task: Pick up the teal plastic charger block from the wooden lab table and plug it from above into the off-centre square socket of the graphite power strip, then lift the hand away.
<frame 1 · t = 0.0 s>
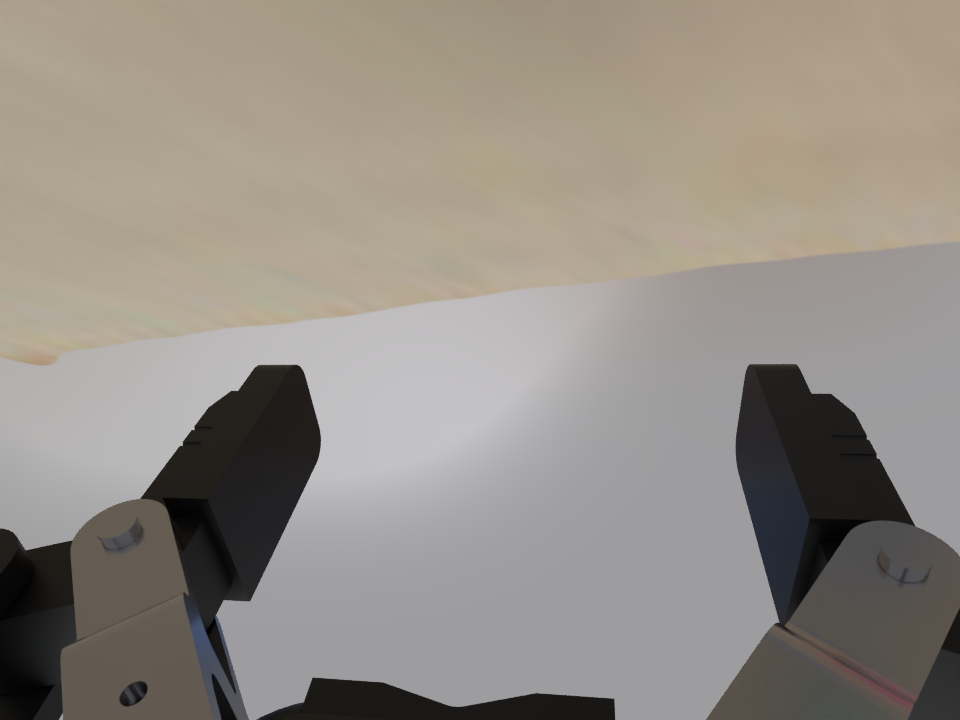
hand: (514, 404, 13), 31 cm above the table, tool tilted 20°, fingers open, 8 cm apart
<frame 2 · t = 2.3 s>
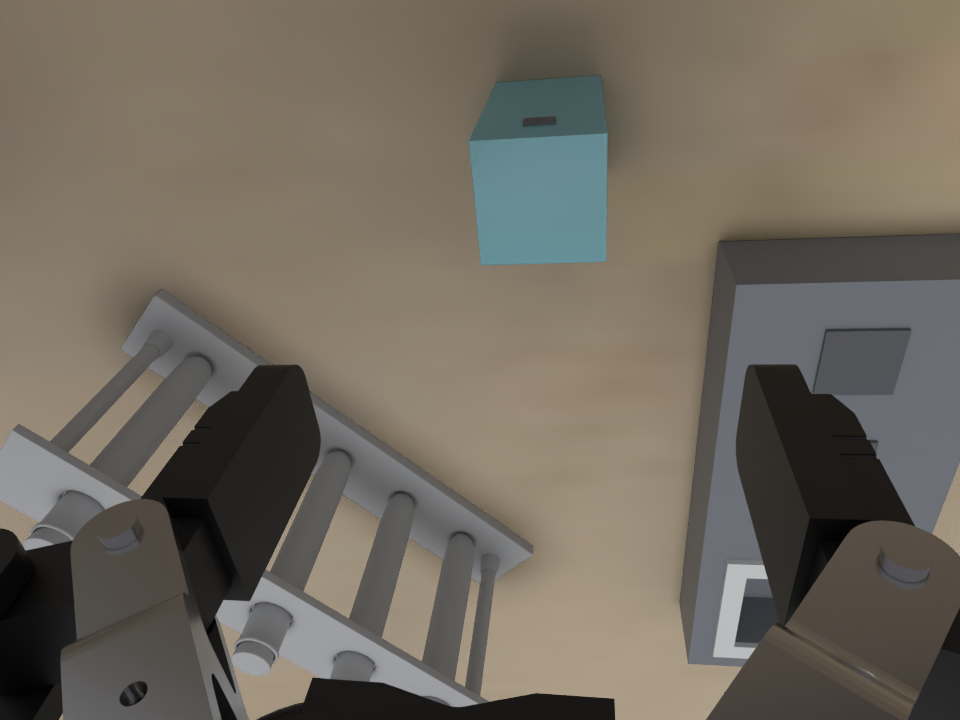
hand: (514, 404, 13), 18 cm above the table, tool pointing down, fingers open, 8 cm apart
charger: (549, 131, 27), on the table
test tube rack: (344, 447, 39), on the table
power strip: (797, 457, 35), on the table
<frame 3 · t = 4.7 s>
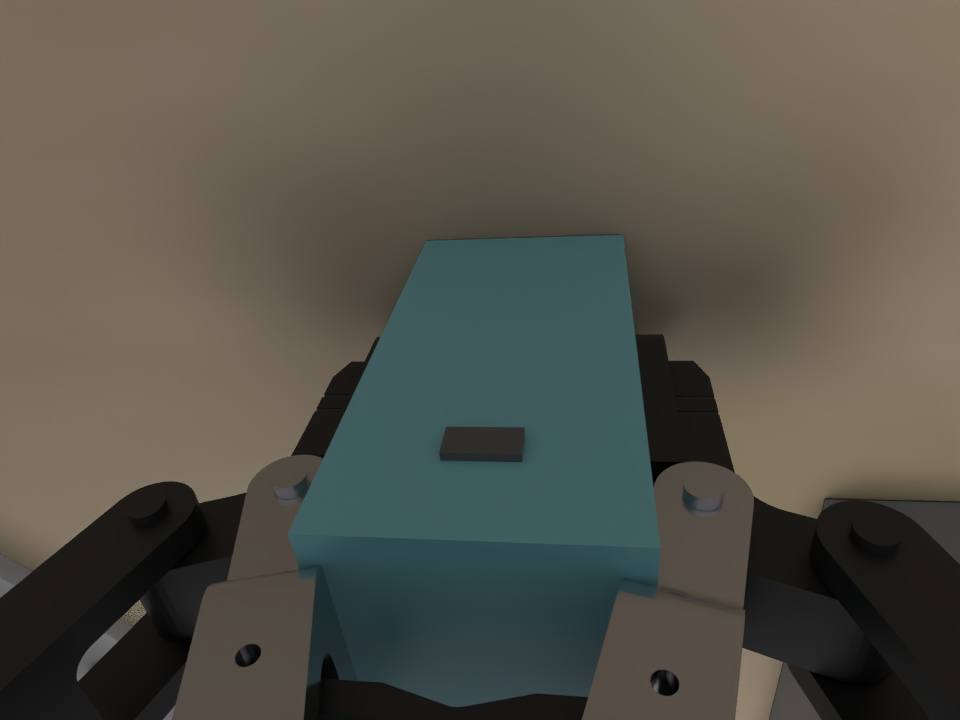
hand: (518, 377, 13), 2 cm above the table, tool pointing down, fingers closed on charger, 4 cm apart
charger: (527, 323, 15), on the table, touching gripper
test tube rack: (231, 704, 26), on the table
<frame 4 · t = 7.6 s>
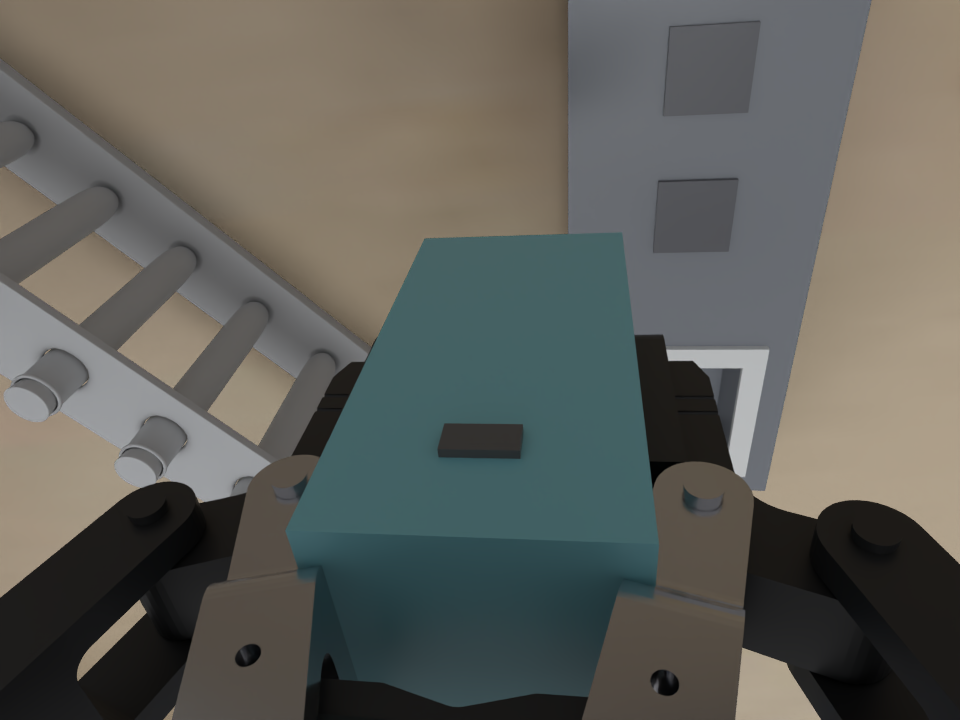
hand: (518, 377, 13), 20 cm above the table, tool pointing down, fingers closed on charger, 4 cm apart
charger: (526, 321, 15), point 18 cm above the table, touching gripper
test tube rack: (193, 248, 36), on the table
power strip: (674, 243, 32), on the table
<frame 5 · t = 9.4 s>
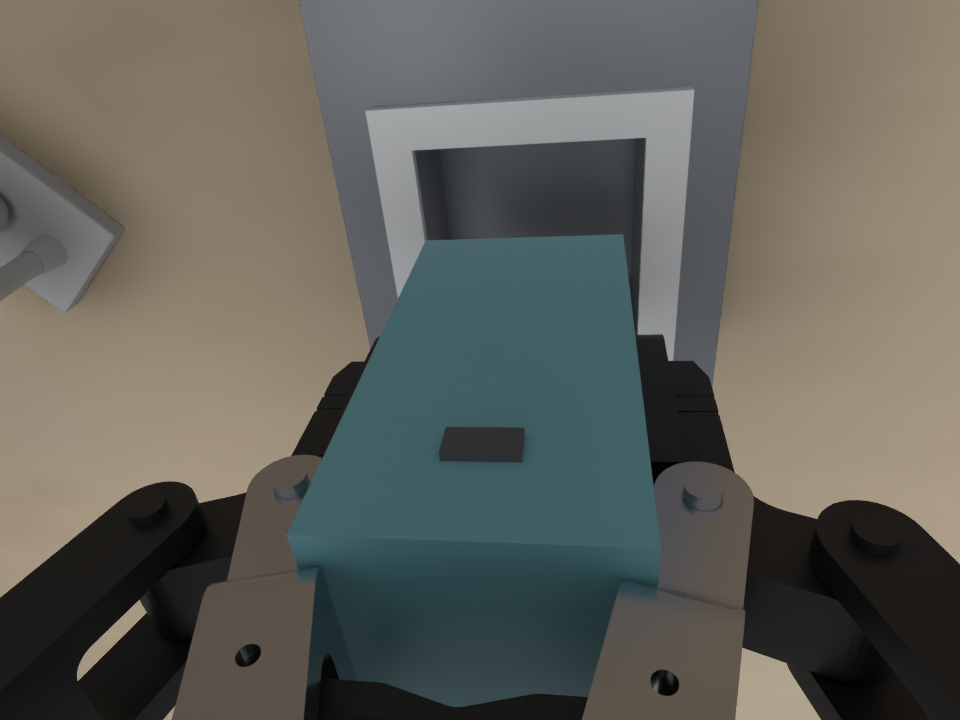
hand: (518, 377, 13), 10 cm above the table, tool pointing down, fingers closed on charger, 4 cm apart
charger: (527, 323, 15), point 8 cm above the table, touching gripper
when the fingers open (5 cm above the table, at t = 10.7 s): charger drops 2 cm, resting on power strip.
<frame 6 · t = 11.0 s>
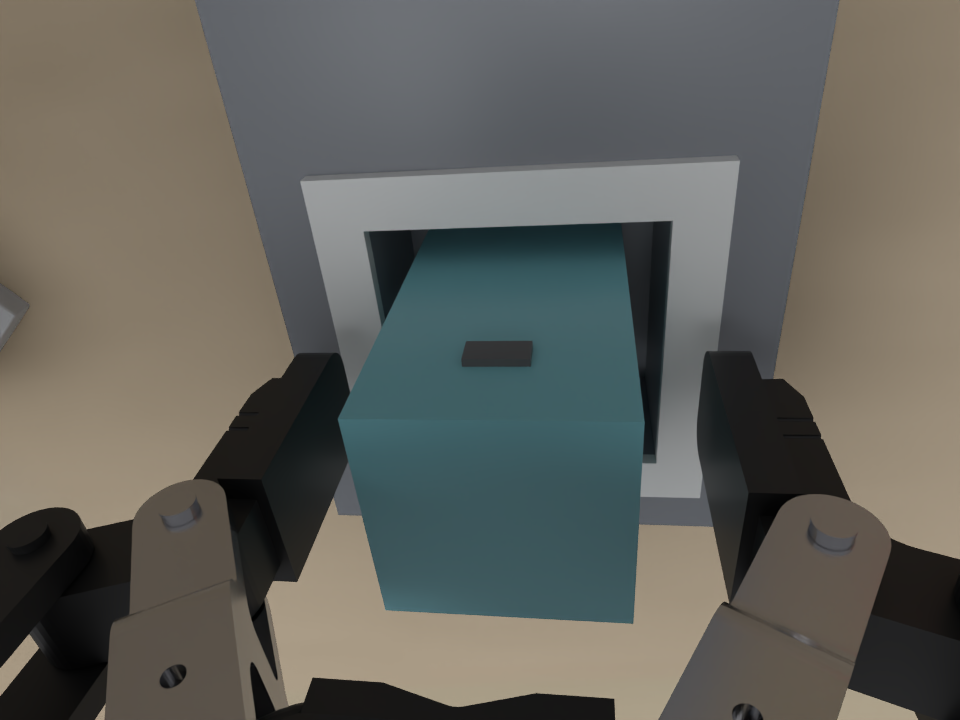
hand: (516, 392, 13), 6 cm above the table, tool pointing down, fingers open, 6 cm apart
charger: (531, 280, 17), point 1 cm above the table, touching power strip
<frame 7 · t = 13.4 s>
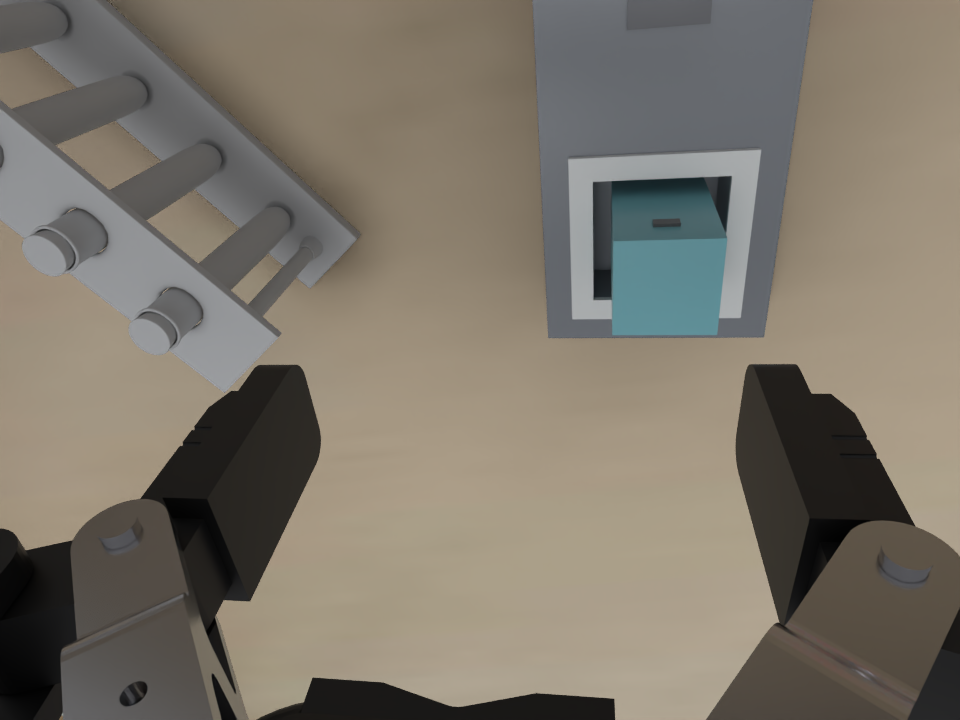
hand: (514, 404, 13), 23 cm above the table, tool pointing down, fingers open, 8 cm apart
charger: (653, 213, 32), point 1 cm above the table, touching power strip
test tube rack: (147, 86, 34), on the table
power strip: (658, 52, 30), on the table
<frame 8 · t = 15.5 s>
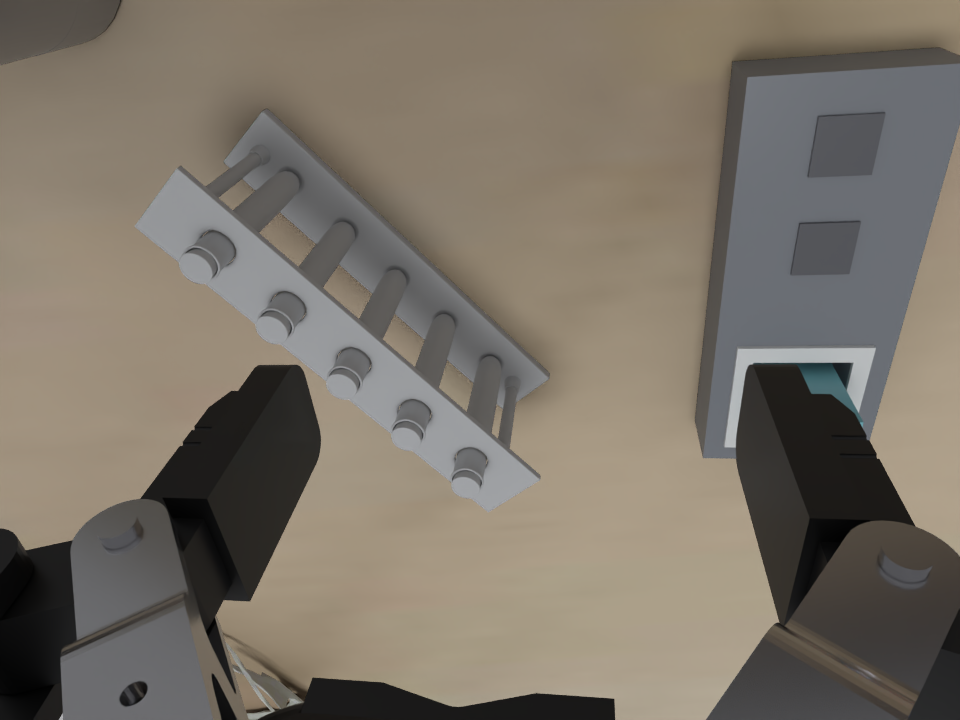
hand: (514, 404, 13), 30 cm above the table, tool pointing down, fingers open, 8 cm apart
charger: (782, 369, 45), point 1 cm above the table, touching power strip
test tube rack: (400, 270, 46), on the table
power strip: (795, 266, 42), on the table
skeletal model: (290, 702, 78), on the table
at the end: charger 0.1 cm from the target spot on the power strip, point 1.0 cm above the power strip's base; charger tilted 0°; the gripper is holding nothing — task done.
